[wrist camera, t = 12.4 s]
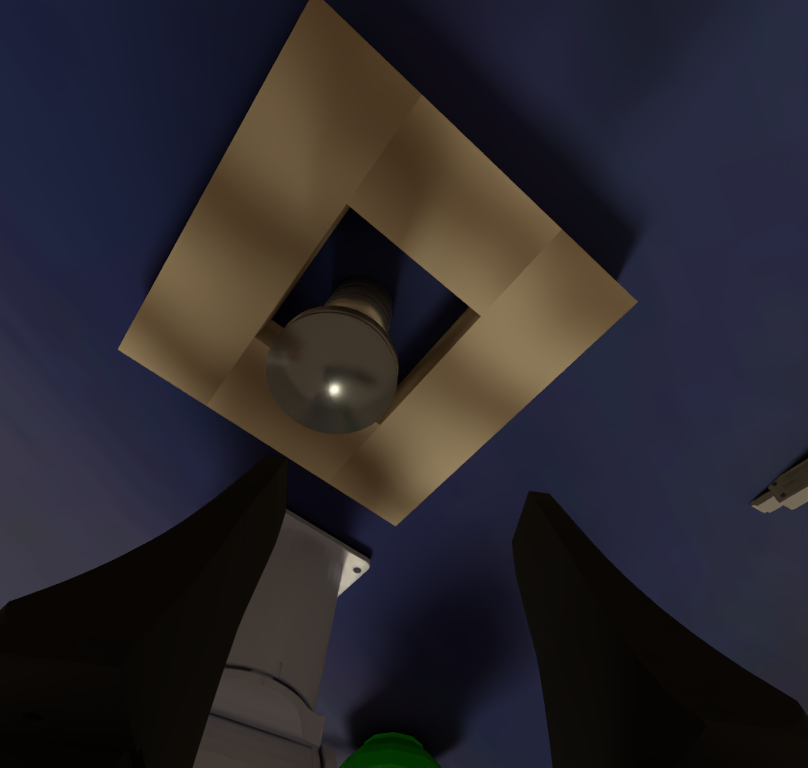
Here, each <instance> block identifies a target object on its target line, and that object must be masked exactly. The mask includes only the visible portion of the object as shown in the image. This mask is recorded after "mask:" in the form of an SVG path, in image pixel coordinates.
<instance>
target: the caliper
mask: <svg viewBox="0 0 808 768" xmlns="http://www.w3.org/2000/svg"><path fill="white" fill-rule="evenodd" d="M768 489H769V491H768V492H766V493H765V494H763V495H761V496H759V497H758V498H756V499H755V500H753V501H752V502H751V503H750V506H752V507H754V508H756V509H758V510H760V511H762V512H764V513H765V512H767V511H768V512H769V513H770V512H772V511H774V510H776V509H778V508H779V507H781V506H783V505H784V506H786V507H788V508H790V509H792V510H793V509H795V508H797V507H799V506H801V505H802V504H804V503H806V502H808V457H807V458H805V459H804V460H802V461H800V462H799V463H797V464H796V465H794V466H792V467H791V468H789V469H788V470H787V471H786V472H785V473H784V474H782V475H781V476H780V477H779V478H778V479H777V480H775V481H774V482H773V483H772V484H771V485H770V486H769V487H768Z"/></svg>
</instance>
